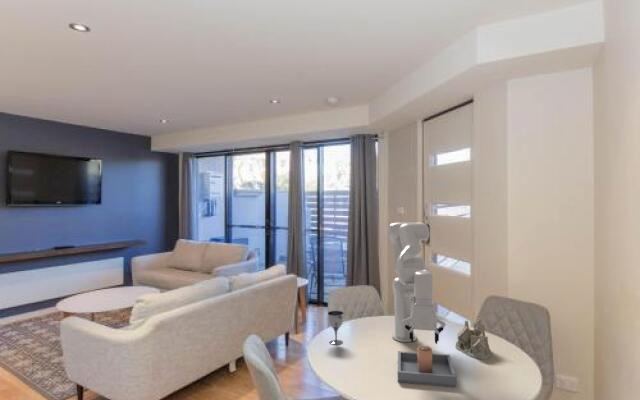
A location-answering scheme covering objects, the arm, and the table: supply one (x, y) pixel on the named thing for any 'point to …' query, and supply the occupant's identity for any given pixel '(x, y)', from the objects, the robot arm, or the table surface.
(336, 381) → the table surface
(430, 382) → the tray
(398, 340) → the robot arm
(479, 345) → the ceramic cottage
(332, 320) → the wine glass
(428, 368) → the cup
